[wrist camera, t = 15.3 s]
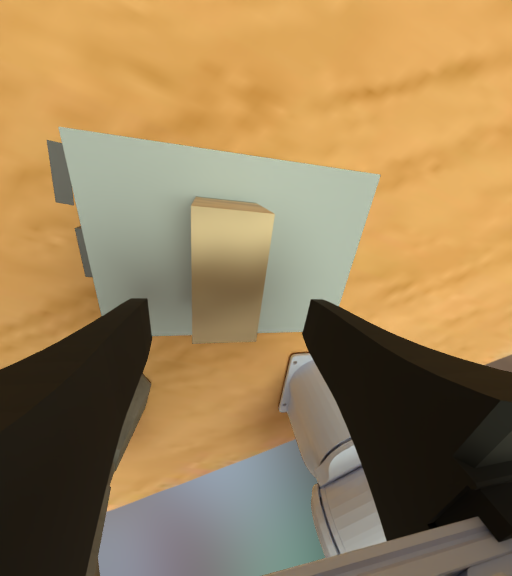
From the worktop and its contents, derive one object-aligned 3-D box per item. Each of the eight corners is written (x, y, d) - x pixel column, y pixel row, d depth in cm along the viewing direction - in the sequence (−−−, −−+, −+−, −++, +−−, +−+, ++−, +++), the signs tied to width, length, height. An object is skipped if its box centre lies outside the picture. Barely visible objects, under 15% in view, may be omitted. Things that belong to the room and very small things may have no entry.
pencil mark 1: (55, 202, 14) (60, 201, 15) (73, 205, 15) (77, 204, 15) (46, 139, 13) (51, 140, 13) (67, 144, 13) (71, 145, 14)
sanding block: (244, 302, 19) (256, 341, 14) (196, 302, 18) (192, 343, 14) (256, 202, 15) (275, 213, 11) (196, 196, 14) (190, 205, 10)
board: (324, 322, 23) (330, 330, 22) (113, 326, 19) (106, 337, 18) (367, 174, 17) (380, 174, 16) (73, 131, 13) (58, 126, 12)
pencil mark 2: (93, 277, 16) (85, 276, 16) (99, 271, 17) (92, 271, 17) (83, 228, 15) (74, 228, 15) (90, 225, 16) (82, 225, 16)
